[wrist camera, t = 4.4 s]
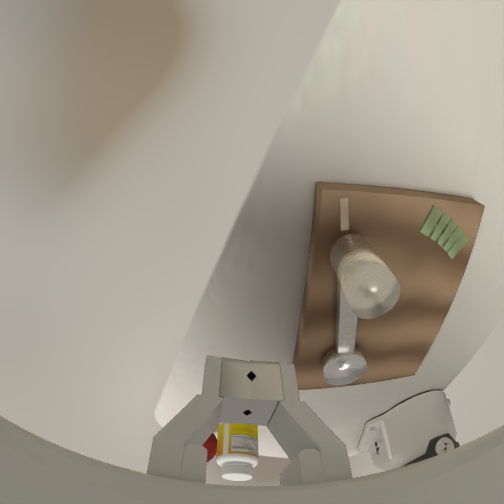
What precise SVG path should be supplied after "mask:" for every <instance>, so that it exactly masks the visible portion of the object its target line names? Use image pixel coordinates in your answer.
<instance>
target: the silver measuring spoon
mask: <svg viewBox="0 0 504 504" xmlns="http://www.w3.org/2000/svg"><path fill="white" fill-rule="evenodd" d="M330 262H331V265H332V267H333V269H334V271H335V273H336V276H337V325H336V348H335V349H333V350H331V351H330V352H328V353H327V354H326V355H325V356H324V358H323V359H322V363H321V364H322V369H323V374H324V378H325V381H326V382H327V383H328V384H330V385H334V386H341V385H347V384H350V383H352V382H354V381H356V380H358V379H359V378H361V377H362V376H363V375H364V374H365V372H366V370H367V363H366V361H365V358H364V355H363V352H362V350H361V349H360V348H359V347H357V346H355V337H356V327H357V317H359V318H362V319H373V318H377V317H380V316H382V315H384V314H385V313H387V312H388V311H389V310H391V309H392V308H393V307H394V305H395V304H396V302H397V301H398V299H399V296H400V284H399V282H398V280H397V279H396V278H395V276H394V275H393V273H392V272H391V271H390V269H389V268H388V266H387V265H386V264H385V262H384V261H383V260H382V258H381V257H380V256H379V254H378V253H377V252H376V250H375V249H374V248H373V246H372V245H371V244H370V242H369V241H368V240H367V239H366V238H365V237H364V236H362V235H359V234H349V235H345V236H343V237H341V238H340V239H339V240H337V241H336V242H335V244H334V245H333V247H332V249H331V251H330Z"/></svg>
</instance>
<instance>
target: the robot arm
mask: <svg viewBox="0 0 504 504" xmlns="http://www.w3.org/2000/svg"><path fill="white" fill-rule="evenodd" d="M449 406H450V400H449V399H446V396H445V393H444V392H443V391H439V390H437V391H430V392H427V393H423V394H420V395H418V396H415V397H413V398H411V399H409V400H407V401H405V402H403V403H401V404H399V405H397V406H396V407H394V408H393V409H391V410H390V411H388V412H386V413H385V414H383V415H381V416H379V417H376V418H374V419H372V420H370V421H368V422H367V423H366V425H365V428H364V431H363V434H362V437H361V440H360V443H359V446H358V451H359V452H370V453H371V457H372V461H373V463H374V465H375V466H376V467H378V468H381V469H383V470H386V471H384V472H380V473H376V474H371V475H367V476H361V477H356V478H352V473H351V468H350V463H349V458H348V453H347V448H346V445H345V444H344V443H343V442H342V441H341V440H340V439H339V438H338V437H337V436H336V435H335V434H334V433H333V432H332V431H331V430H330V429H329V428H328V426H327V425H326V424H325V423H324V422H323V421H322V420H321V419H320V418H319V417H318V416H317V415H316V414H315V413H314V412H313V411H312V410H311V408H310V407H309V406H308V405H307V404H306V403H305V402H302V401H300V398H299V391H298V385H297V379H296V372H295V366H294V364H293V363H278V362H266V361H251V360H250V361H246V360H238V359H230V358H223V357H215V356H207V358H206V363H205V371H204V380H203V388H202V395H198V394H197V395H196V396H195V397H194V398H193V399H192V400H191V401H190V402H189V403H188V404H187V405H186V406H185V407H184V408H183V409H182V410H181V411H180V412H179V413H178V414H177V415H176V416H175V417H174V418H173V419H172V420H171V421H170V422H169V423H168V424H167V425H166V426H165V427H163V428H162V429H161V430H160V431H159V432H158V433H157V434H156V435H155V436H154V437H153V443H152V448H151V453H150V458H149V464H148V470H147V474H145V473H142V472H137V471H133V470H129V469H126V468H121V467H118V466H114V465H111V464H108V463H105V462H102V461H99V460H96V459H93V458H89V457H87V456H84V455H81V454H79V453H76V452H73V451H71V450H68V449H66V448H63V447H61V446H59V445H56V444H54V443H52V442H49V441H47V440H45V439H43V438H41V437H39V436H37V435H35V434H33V433H31V432H29V431H27V430H25V429H23V428H21V427H19V426H17V425H16V424H14V423H12V422H10V421H9V420H7V419H5V418H4V417H2V416H0V504H504V426H501V427H499V428H497V429H495V430H493V431H491V432H489V433H488V434H486V435H484V436H482V437H479V438H477V439H475V440H473V441H471V442H469V443H467V444H465V445H462V446H460V445H459V443H458V442H456V441H455V437H456V429H455V426H454V422H453V419H452V415H451V412H450V409H449ZM220 423H234V424H250V425H265V426H267V427H268V429H269V430H270V432H271V433H272V434H273V436H274V437H275V439H276V440H277V442H278V443H279V444H280V446H281V447H282V449H283V450H284V451H285V453H286V454H287V456H288V457H289V458H290V460H291V463H290V464H289V465H288V466H287V467H286V468H285V469H284V470H283V471H282V472H281V473H280V486H233V485H219V484H207V483H206V466H207V449H206V448H205V447H203V446H202V445H203V444H204V443H205V441H206V440H207V439H208V438H209V436H210V435H211V434H212V433H213V431H214V430H215V429H216V428H217V426H218V425H219V424H220Z"/></svg>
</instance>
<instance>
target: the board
mask: <svg viewBox="0 0 504 504" xmlns="http://www.w3.org/2000/svg"><path fill="white" fill-rule="evenodd" d="M484 207H485V206H484V205H482V204H480V203H479V202H477V201H475V200H474V199H471V198H465V197H459V196H453V195H446V194H439V193H432V192H424V191H416V190H407V189H398V188H389V187H378V186H367V185H354V184H340V183H323V182H316V191H315V203H314V213H313V223H312V233H311V242H310V251H309V260H308V268H307V276H306V283H305V291H304V298H303V305H302V312H301V318H300V325H299V331H298V338H297V344H296V350H295V356H294V361H293V364H294V366H295V372H296V379H297V385H298V390H307V389H321V388H332V387H342V386H350V385H358V384H366V383H373V382H379V381H385V380H391V379H397V378H402V377H407V376H412V375H415V373H416V371H417V370H418V368H419V366H420V365H421V363H422V361H423V359H424V358H425V356H426V354H427V352H428V350H429V349H430V347H431V345H432V343H433V341H434V339H435V337H436V335H437V333H438V332H439V330H440V328H441V325H442V323H443V321H444V319H445V317H446V315H447V313H448V311H449V308H450V306H451V304H452V302H453V299H454V297H455V295H456V292H457V290H458V287H459V285H460V282H461V280H462V277H463V275H464V272H465V269H466V267H467V264H468V261H469V258H470V255H471V252H472V249H473V246H474V243H475V240H476V236H477V233H478V229H479V226H480V222H481V219H482V215H483V211H484ZM349 234H359V235H362V236H364V237H365V238H366V239H367V240H368V241H369V242H370V244H371V245H372V246H373V248H374V249H375V250H376V252H377V253H378V254H379V256H380V257H381V258H382V260H383V261H384V262H385V264H386V265H387V266H388V268H389V269H390V271H391V272H392V273H393V275H394V276H395V278H396V279H397V280H398V282H399V284H400V296H399V299H398V301H397V302H396V304H395V305H394V307H393V308H392V309H391V310H389V311H388V312H387V313H385V314H384V315H382V316H380V317H377V318H373V319H362V318H359V317H357V327H356V337H355V346H357V347H359V348H360V349H361V350H362V352H363V355H364V358H365V361H366V363H367V370H366V372H365V374H364V375H363V376H362V377H361V378H359V379H358V380H356V381H354V382H352V383H350V384H347V385H341V386H334V385H330V384H328V383H327V382H326V381H325V378H324V374H323V369H322V364H321V363H322V359H323V358H324V356H325V355H326V354H327V353H328V352H330V351H331V350H333V349H335V348H336V325H337V276H336V273H335V271H334V269H333V267H332V265H331V262H330V251H331V249H332V247H333V245H334V244H335V242H336V241H337V240H339V239H340V238H341V237H343V236H345V235H349Z"/></svg>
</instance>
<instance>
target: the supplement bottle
mask: <svg viewBox="0 0 504 504" xmlns="http://www.w3.org/2000/svg"><path fill="white" fill-rule="evenodd" d="M216 462H217V464H219V465H220V466H221V467H222V477H223V478H224V479H228V480H234V481H244V480H250V479H252V477H253V467H255V466H256V465H257V464H258V426H257V425H250V424H234V423H220V424H219V425H218V439H217V455H216Z"/></svg>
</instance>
